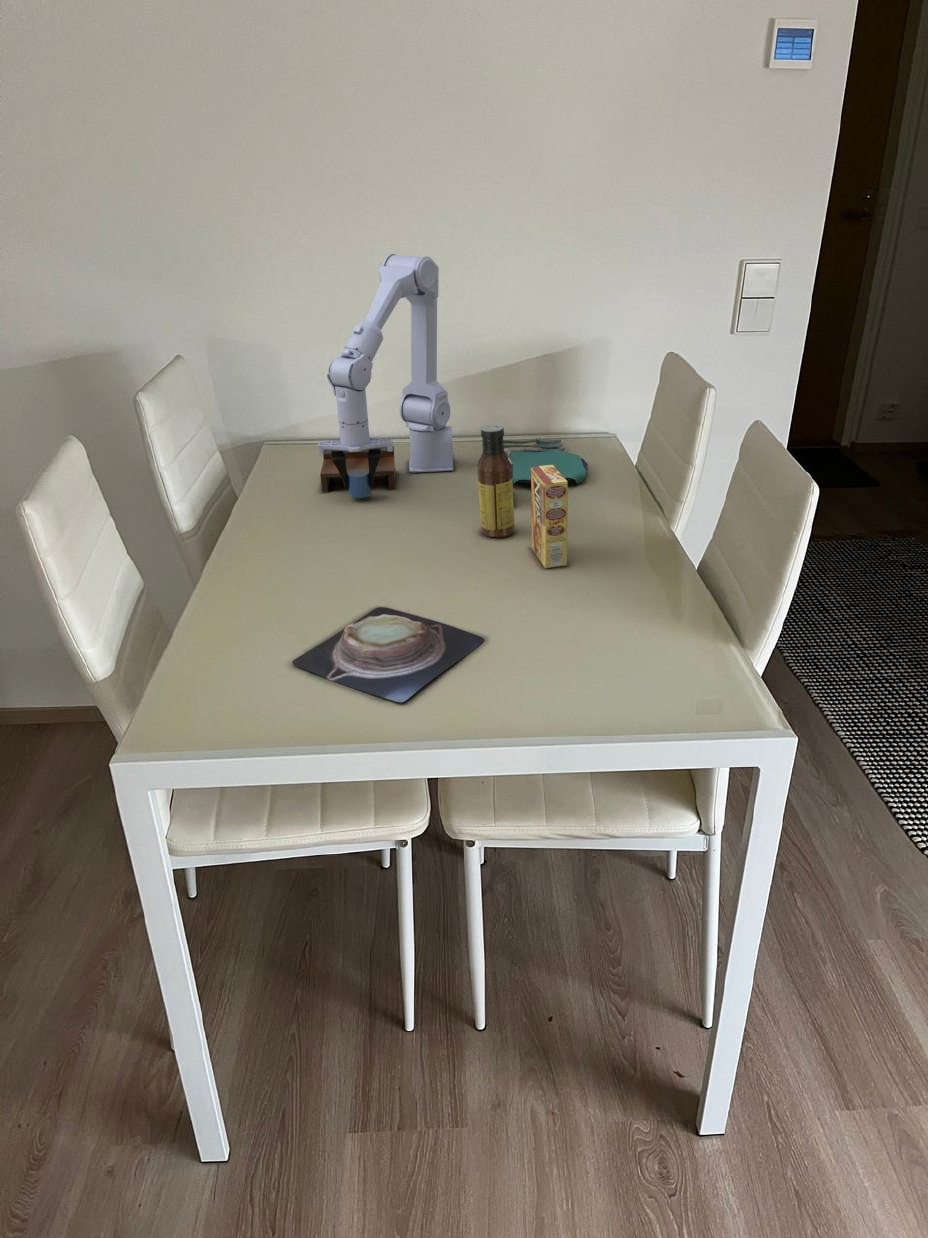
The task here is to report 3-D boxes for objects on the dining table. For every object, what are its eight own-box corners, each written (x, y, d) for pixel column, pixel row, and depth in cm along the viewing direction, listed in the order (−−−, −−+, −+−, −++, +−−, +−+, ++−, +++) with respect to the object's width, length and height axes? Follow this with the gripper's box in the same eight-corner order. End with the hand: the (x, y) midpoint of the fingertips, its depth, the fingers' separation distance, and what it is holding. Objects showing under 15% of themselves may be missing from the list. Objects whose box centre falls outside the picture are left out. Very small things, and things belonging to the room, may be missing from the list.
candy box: (567, 566, 163) (570, 481, 156) (543, 569, 162) (545, 483, 155) (552, 546, 171) (554, 463, 164) (529, 548, 170) (530, 466, 163)
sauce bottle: (515, 525, 179) (514, 421, 170) (513, 539, 174) (512, 432, 164) (480, 525, 180) (478, 421, 171) (477, 538, 175) (474, 432, 165)
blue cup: (371, 489, 195) (369, 468, 193) (370, 497, 191) (368, 476, 189) (349, 490, 195) (347, 469, 193) (348, 498, 191) (346, 477, 189)
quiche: (402, 706, 127) (400, 680, 125) (288, 665, 137) (285, 641, 135) (487, 639, 142) (486, 615, 140) (379, 607, 152) (377, 584, 150)
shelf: (395, 472, 207) (393, 445, 204) (395, 489, 198) (393, 461, 196) (325, 475, 207) (323, 448, 204) (322, 492, 198) (319, 464, 195)
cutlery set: (496, 492, 195) (495, 481, 194) (489, 445, 221) (489, 436, 220) (593, 489, 195) (594, 478, 194) (576, 442, 221) (576, 433, 220)
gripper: (313, 428, 182) (321, 495, 189) (390, 424, 183) (395, 491, 189) (317, 417, 188) (323, 482, 195) (390, 413, 189) (395, 479, 195)
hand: (359, 486), depth 192 cm, fingers closed on blue cup, 4 cm apart
